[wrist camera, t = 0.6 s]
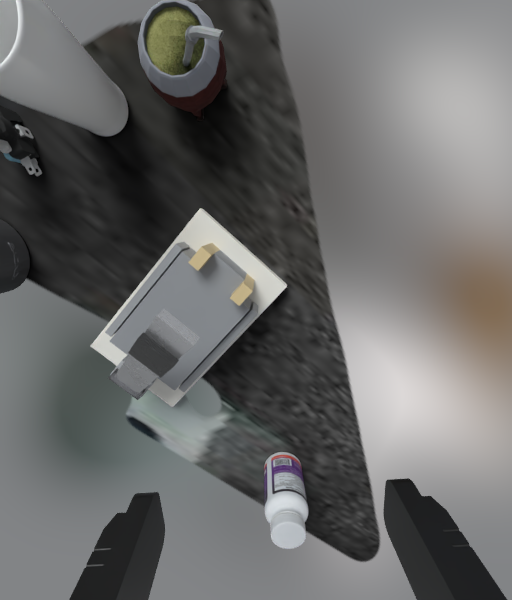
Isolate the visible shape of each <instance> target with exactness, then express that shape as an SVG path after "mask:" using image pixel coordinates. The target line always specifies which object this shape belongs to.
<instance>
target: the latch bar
mask: <svg viewBox="0 0 512 600" xmlns="http://www.w3.org/2000/svg"><path fill="white" fill-rule="evenodd" d="M199 338H200V337H199V336H198V335H196V334H195V333H194V332H193V331H191V330H190V329H189V328H188V327H186V326H185V325H184V324H183V323H182V322H180V321H179V320H178V319H177V318H175V317H174V316H173V315H172V314H170V313H169V312H168V311H167V310H165V309H163V310H162V311H161V312H160V313H159V314H158V315H157V316H156V317H155V319H154V320H153V322H152V323H151V324H150V326H149V327H148V329H147V330H146V332H145V333H144V332H143V333H142V334H141V335H140V336H139V337H138V339H137V340H136V342H135V343H134V345H133V346H132V348H131V349H130V350H129V352H128V353H129V354H130V355H129V356H128V357H127V359H126V360H125V362H124V363H123V365H122V366H121V367H120V369H119V368H117V369H116V370H115V371H114V372H113V373H112V374H111V375H110V376H109V379H110V380H111V381H113V382H114V383H115V384H117V385H118V386H120V387H121V388H122V389H124V390H125V391H126V392H128V393H129V394H130V395H132V396H133V397H134V398H136V399H137V400H138V399H139V398H140V397H141V396H142V395H143V393H144V392H145V391H146V387H147V386H148V385H149V384H150V383H152V382H153V381H154V380H155V379H156V378H157V377H158V376H159V377H160V378H161V377H162V376H164V375H165V374H166V373H167V372H168V371H169V370H171V369H172V368H173V367H174V366H175V365H176V364H177V362H178V361H179V360H178V359H179V358H180V357H181V356H183V355H184V354H185V353H186V352H187V351H188V350H189V349H191V348H192V347H193V346H194V345H195V343H196V342H197V341H198V339H199Z"/></svg>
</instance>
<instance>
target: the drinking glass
mask: <svg viewBox="0 0 512 600" xmlns="http://www.w3.org/2000/svg"><path fill="white" fill-rule="evenodd" d="M0 96H2V97H5V98H7V99H9V100H11V101H13V102H16V103H18V104H21V105H23V106H26V107H28V108H31V109H34V110H36V111H39V112H42V113H44V114H47V115H50V116H53V117H55V118H58V119H61V120H63V121H66V122H68V123H71V124H74V125H76V126H79V127H81V128H84V129H86V130H88V131H90V132H92V133H94V134H96V135H99V136H106V137H107V136H113V135H116V134H117V133H119V132H120V131H121V130H122V129H123V128H124V127H125V125H126V123H127V120H128V104H127V101H126V98H125V96H124V94H123V92H122V91H121V90H120V88H119V87H118V86H117V85H116V84H115V83H114V82H113V81H112V80H111V79H110V78H109V77H108V76H107V75H106V74H105V72H104V71H103V70H102V69H101V68H100V66H99V65H98V64H97V63H96V62H95V61H94V59H93V58H92V57H91V56H90V55H89V53H88V52H87V51H86V50H85V49H84V47H83V46H82V45H81V44H80V43H79V41H78V40H77V39H76V38H75V37H74V36H73V34H72V33H71V32H70V31H69V29H68V28H67V27H66V26H65V25H64V23H62V21H61V20H60V19H59V18H58V16H56V14H55V13H54V12H53V11H52V10H51V9H50V7H48V5H47V4H46V3H45V2H44V1H43V0H0Z"/></svg>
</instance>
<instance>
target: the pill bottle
mask: <svg viewBox="0 0 512 600" xmlns="http://www.w3.org/2000/svg"><path fill="white" fill-rule="evenodd" d="M264 509H265V516H266V519H267V521H268V522H269V523H270V524H271V525H270V528H271V538H272V541H273V542H274V543H275V544H276V545H277V546H279V547H281V548H284V549H292V548H296V547H298V546H300V545H301V544H302V543H303V542H304V541H305V538H306V529H305V521H306V519H307V517H308V504H307V498H306V492H305V486H304V480H303V474H302V468H301V464H300V461H299V460H298V458H297V457H296V456H294V455H293V454H291V453H287V452H278V453H275V454H273V455H271V456H270V457H269V458H268V459H267V460H266V462H265V466H264Z"/></svg>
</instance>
